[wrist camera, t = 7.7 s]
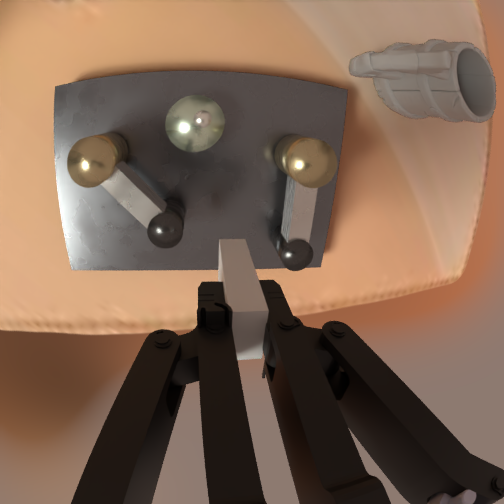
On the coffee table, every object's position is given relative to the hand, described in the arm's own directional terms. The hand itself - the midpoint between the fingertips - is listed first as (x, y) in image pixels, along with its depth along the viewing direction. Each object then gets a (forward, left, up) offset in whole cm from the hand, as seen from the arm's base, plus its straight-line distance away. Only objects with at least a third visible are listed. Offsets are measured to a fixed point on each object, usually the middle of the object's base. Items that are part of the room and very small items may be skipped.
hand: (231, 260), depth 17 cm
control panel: (-2, +4, -8) cm, 9 cm away
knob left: (-9, +6, -6) cm, 12 cm away
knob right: (+5, +6, -6) cm, 10 cm away
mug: (+14, +14, -9) cm, 22 cm away
